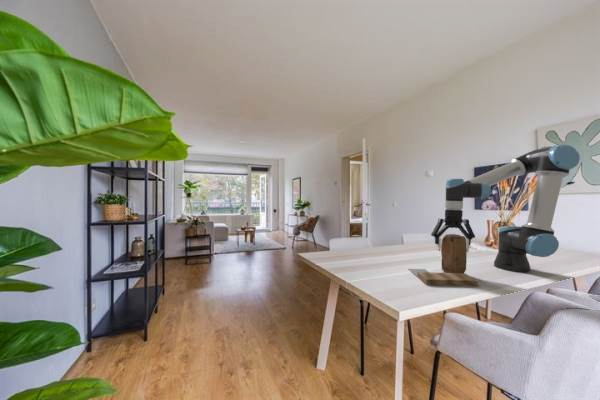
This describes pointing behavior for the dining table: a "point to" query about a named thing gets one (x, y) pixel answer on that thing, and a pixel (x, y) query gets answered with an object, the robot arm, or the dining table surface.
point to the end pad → (417, 271)
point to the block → (453, 253)
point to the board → (447, 279)
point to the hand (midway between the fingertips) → (452, 251)
